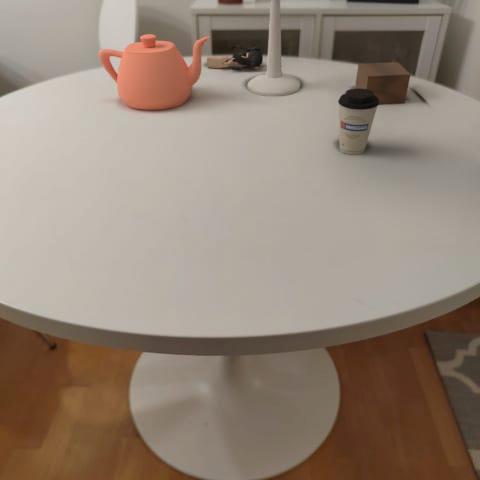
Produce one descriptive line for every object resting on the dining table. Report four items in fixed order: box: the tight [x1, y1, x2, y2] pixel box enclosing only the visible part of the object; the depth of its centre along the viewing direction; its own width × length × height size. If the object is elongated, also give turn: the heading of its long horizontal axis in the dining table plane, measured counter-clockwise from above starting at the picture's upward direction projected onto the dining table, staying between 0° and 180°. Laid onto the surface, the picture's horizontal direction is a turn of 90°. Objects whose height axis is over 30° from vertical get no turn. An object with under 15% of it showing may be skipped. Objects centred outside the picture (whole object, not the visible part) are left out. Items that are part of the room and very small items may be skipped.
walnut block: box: [354, 61, 412, 105], centre depth 102 cm, size 9×9×6 cm
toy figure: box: [206, 43, 264, 72], centre depth 121 cm, size 7×6×15 cm
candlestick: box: [247, 0, 301, 97], centre depth 101 cm, size 13×13×30 cm
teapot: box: [98, 33, 211, 111], centre depth 102 cm, size 25×17×13 cm
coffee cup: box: [337, 87, 380, 155], centre depth 81 cm, size 7×7×10 cm
